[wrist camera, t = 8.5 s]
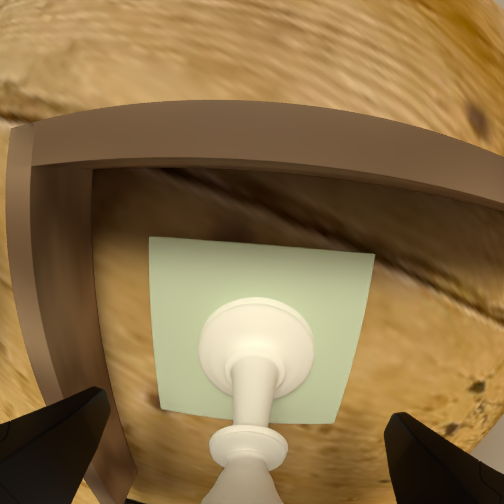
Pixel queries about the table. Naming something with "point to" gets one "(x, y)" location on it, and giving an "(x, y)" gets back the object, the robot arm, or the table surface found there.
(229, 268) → the pad
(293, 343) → the chess piece
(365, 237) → the table surface
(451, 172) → the corner wall
